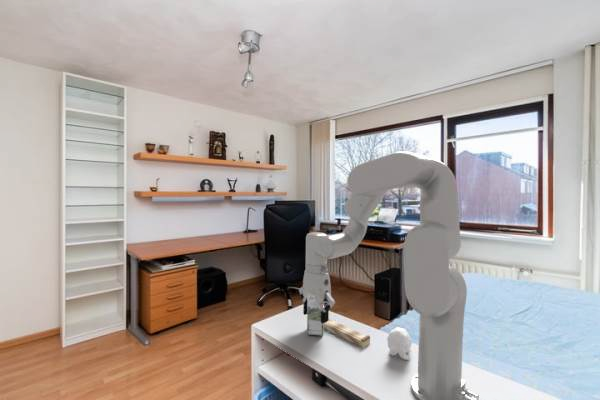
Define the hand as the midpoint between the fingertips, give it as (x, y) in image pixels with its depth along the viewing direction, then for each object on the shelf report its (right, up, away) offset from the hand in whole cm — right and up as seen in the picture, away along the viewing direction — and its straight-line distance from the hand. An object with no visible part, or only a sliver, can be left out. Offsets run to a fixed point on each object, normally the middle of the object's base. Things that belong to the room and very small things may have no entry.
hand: (315, 317), depth 96 cm
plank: (+9, -5, 0) cm, 10 cm away
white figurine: (+26, -6, -11) cm, 29 cm away
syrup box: (0, -5, 0) cm, 5 cm away
